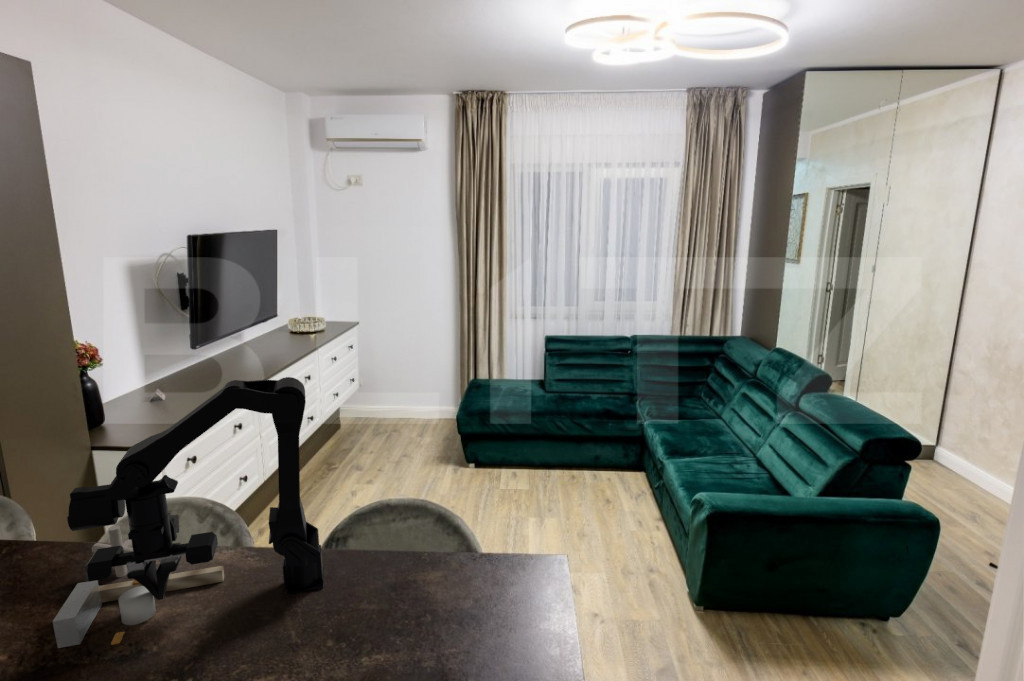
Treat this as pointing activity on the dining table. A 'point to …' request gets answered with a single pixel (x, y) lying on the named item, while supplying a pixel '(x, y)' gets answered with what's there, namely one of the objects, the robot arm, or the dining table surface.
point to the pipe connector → (116, 541)
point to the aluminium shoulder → (77, 614)
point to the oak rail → (174, 583)
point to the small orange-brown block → (117, 638)
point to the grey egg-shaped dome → (136, 606)
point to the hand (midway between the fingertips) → (161, 598)
